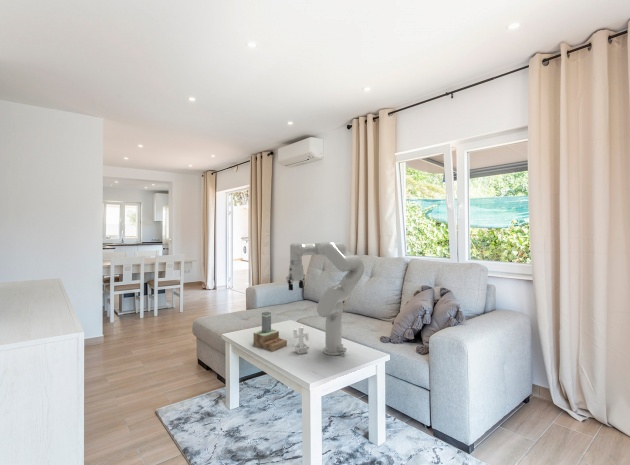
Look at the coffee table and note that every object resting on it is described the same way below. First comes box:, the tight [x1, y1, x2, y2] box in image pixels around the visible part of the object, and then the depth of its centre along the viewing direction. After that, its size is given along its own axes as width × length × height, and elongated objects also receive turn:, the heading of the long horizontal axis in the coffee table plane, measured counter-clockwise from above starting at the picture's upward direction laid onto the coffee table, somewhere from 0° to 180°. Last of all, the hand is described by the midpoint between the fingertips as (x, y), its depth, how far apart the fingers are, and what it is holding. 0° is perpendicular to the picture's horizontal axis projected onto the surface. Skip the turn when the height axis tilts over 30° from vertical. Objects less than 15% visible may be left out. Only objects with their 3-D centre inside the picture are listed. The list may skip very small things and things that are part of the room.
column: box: [261, 311, 272, 333], centre depth 208 cm, size 4×4×12 cm
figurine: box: [292, 325, 310, 355], centre depth 195 cm, size 7×9×15 cm
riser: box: [253, 328, 288, 352], centre depth 206 cm, size 17×12×8 cm
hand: (295, 289), depth 215 cm, fingers open, 9 cm apart
